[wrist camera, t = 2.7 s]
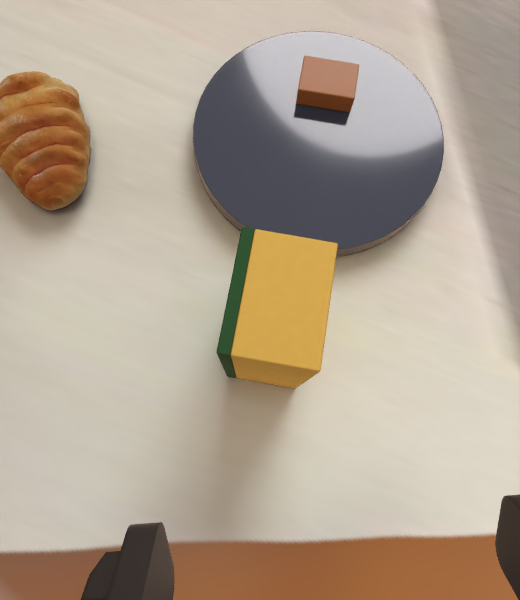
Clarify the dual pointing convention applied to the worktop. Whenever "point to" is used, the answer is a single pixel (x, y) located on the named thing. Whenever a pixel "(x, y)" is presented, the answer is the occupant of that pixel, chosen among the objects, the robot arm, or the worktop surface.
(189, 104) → the worktop surface
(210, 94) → the plate
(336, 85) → the orange slab
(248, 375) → the sponge
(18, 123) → the pastry
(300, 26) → the worktop surface
